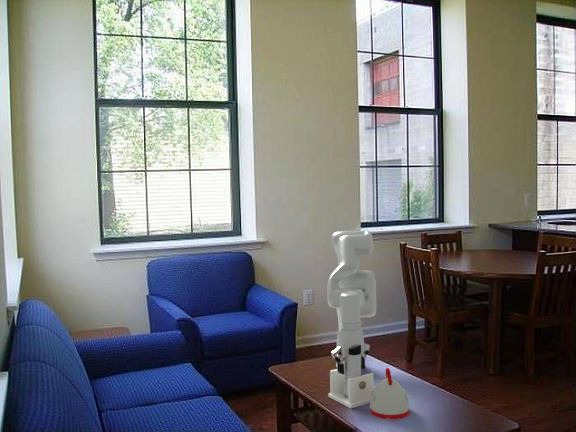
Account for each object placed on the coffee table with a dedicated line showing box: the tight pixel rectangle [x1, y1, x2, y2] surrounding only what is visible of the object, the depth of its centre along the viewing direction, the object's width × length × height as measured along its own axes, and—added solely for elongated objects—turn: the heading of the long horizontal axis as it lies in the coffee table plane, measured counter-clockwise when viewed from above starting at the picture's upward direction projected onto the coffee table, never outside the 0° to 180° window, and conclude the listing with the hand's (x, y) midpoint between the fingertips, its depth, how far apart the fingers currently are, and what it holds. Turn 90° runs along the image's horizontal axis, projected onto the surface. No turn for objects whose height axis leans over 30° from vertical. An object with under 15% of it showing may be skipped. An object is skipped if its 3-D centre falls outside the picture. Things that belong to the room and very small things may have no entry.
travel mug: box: [344, 345, 362, 398], centre depth 213 cm, size 6×7×20 cm
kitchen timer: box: [369, 367, 410, 420], centre depth 202 cm, size 14×14×15 cm
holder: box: [327, 368, 375, 410], centre depth 214 cm, size 14×12×10 cm
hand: (351, 370), depth 214 cm, fingers open, 9 cm apart
